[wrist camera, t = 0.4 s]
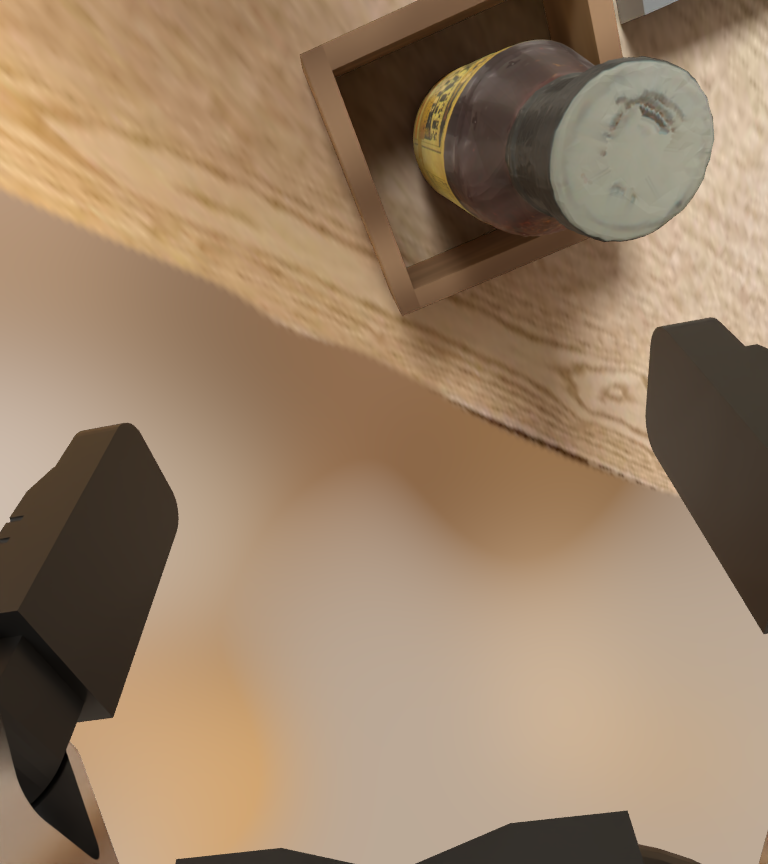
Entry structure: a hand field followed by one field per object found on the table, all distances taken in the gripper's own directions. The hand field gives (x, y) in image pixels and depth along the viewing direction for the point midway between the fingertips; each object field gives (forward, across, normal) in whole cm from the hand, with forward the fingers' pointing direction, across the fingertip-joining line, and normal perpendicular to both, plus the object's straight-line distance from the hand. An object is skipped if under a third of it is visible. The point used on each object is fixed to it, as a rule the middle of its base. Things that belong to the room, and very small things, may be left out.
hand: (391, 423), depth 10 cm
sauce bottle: (+27, -4, +2) cm, 28 cm away
